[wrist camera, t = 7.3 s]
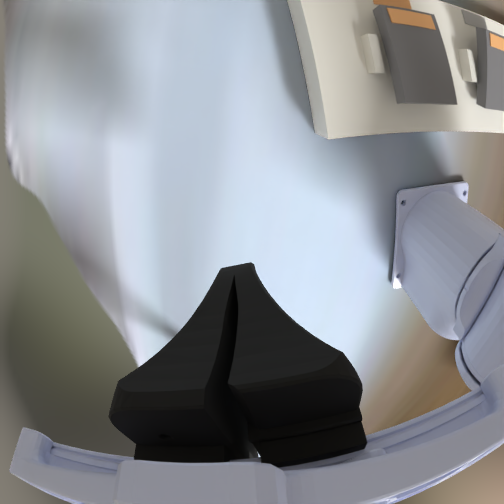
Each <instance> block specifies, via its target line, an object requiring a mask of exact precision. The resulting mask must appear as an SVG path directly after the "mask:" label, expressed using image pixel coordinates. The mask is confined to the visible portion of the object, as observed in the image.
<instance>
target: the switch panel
mask: <svg viewBox="0 0 504 504" xmlns="http://www.w3.org/2000/svg"><path fill="white" fill-rule="evenodd" d="M287 2H288V6H289V9H290V13H291V17H292V21H293V25H294V29H295V33H296V37H297V42H298V46H299V50H300V55H301V60H302V64H303V69H304V74H305V79H306V84H307V89H308V95H309V100H310V106H311V112H312V118H313V124H314V131H315V134H317V135H320V136H322V137H324V138H326V139H336V138H345V137H354V136H364V135H376V134H389V133H405V132H432V131H470V132H495V133H504V111H499V110H493V109H485V108H483V107H481V106H479V105H477V104H476V100H477V76H478V60H477V37H476V27H479V28H484V29H487V30H490V31H492V32H495V33H497V34H499V35H502V36H504V25H502V24H500V23H498V22H496V21H493V20H491V19H489V18H487V17H484V16H482V15H479V14H477V13H474V12H472V11H469V10H467V9H464V8H461V7H458V6H455V5H452V4H449V3H446V2H443V1H439V0H287ZM378 5H387V6H394V7H400V8H406V9H411V10H416V11H421V12H426V13H430V14H434V16H435V18H436V21H437V24H438V27H439V30H440V33H441V36H442V40H443V43H444V46H445V50H446V53H447V57H448V61H449V65H450V69H451V74H452V78H453V83H454V88H455V93H456V99H457V105H437V104H397V102H396V97H395V91H394V87H393V82H392V77H391V73H390V69H389V65H388V61H387V57H386V53H385V49H384V46H383V42H382V39H381V35H380V32H379V29H378V26H377V23H376V20H375V17H374V14H373V11H372V10H373V9H375V8H376V7H377V6H378Z"/></svg>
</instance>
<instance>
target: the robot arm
mask: <svg viewBox="0 0 504 504" xmlns="http://www.w3.org/2000/svg"><path fill="white" fill-rule="evenodd" d="M463 192H464V193H463ZM467 197H468V183H466V182H465V181H461V182H453V183H446V184H438V185H431V186H424V187H417V188H410V189H403V190H400V191H399V192H398V193H397V196H396V232H395V249H394V262H393V272H392V282H391V285H392V287H393V288H395V289H396V288H400V287H403V289H404V290H405V292H406V293H407V294H408V296H409V297H410V299H411V300H412V301H413V303H414V304H415V306H416V307H417V309H418V310H419V312H420V313H421V315H422V316H423V318H424V319H425V321H426V322H427V324H428V325H429V326H430V328H431V329H432V330H433V331H435V332H436V333H437V334H439V335H441V336H442V337H445V338H447V339H451V340H460V341H459V342H458V344H457V347H456V350H455V360H456V364H457V367H458V370H459V372H460V375H461V377H462V379H463V380H464V382H465V383H466V385H467V386H468V387H469V388H470V389H471V390H472V391H471V392H469V393H467V394H466V395H464V396H462V397H460V398H458V399H456V400H454V401H452V402H450V403H448V404H446V405H444V406H442V407H440V408H437V409H435V410H433V411H431V412H429V413H426V414H424V415H422V416H419V417H417V418H414V419H412V420H409V421H407V422H404V423H402V424H399V425H396V426H394V427H391V428H388V429H385V430H382V431H379V432H376V433H373V434H370V435H366V436H365V432H364V429H363V425H362V422H361V421H362V415H361V412H360V408H359V405H360V401H361V396H362V391H363V390H362V383H361V380H360V378H359V376H358V374H357V372H356V371H355V369H354V367H353V366H352V364H351V363H350V361H349V360H348V359H347V357H346V356H345V354H344V353H343V352H341V351H339V350H337V349H335V348H333V347H331V346H330V345H328V344H326V343H324V342H323V341H321V340H320V339H318V338H317V337H315V336H313V335H312V334H311V333H309V332H308V331H307V330H305V329H304V328H303V327H301V326H300V325H299V324H297V323H296V322H295V321H294V320H293V319H292V318H291V317H290V316H289V315H288V314H286V313H285V312H284V311H283V310H282V308H281V307H280V306H279V305H278V304H277V303H276V302H275V300H274V299H273V298H272V297H271V295H270V294H269V293H268V291H267V290H266V288H265V287H264V285H263V284H262V282H261V281H260V279H259V277H258V275H257V273H256V270H255V266H254V264H253V263H251V262H250V263H245V264H240V265H235V266H230V267H225V268H221V269H220V271H219V273H218V275H217V276H216V278H215V280H214V282H213V284H212V286H211V287H210V289H209V291H208V292H207V294H206V296H205V297H204V299H203V301H202V302H201V304H200V305H199V307H198V308H197V310H196V311H195V312H194V314H193V315H192V317H191V318H190V319H189V321H188V322H187V323H186V324H185V326H184V327H183V328H182V329H181V330H180V331H179V332H178V334H177V335H176V336H175V337H174V338H173V339H172V340H171V341H170V342H168V343H167V344H166V345H165V346H164V347H163V348H162V349H161V350H160V351H159V352H158V353H157V354H155V355H154V356H153V357H152V358H151V359H149V360H148V361H147V362H145V363H144V364H143V365H141V366H140V367H139V368H137V369H136V370H134V371H133V372H131V373H130V374H128V375H127V376H125V377H124V378H122V379H120V380H119V381H118V384H117V387H116V390H115V393H114V397H113V400H112V404H111V408H110V412H109V419H110V421H111V422H112V424H113V425H114V426H115V427H116V428H117V429H118V430H119V431H121V432H122V433H123V434H124V435H125V436H127V437H128V438H129V439H131V440H132V441H133V442H134V443H136V449H135V456H134V457H125V456H117V455H110V454H105V453H99V452H94V451H88V450H83V449H79V448H74V447H70V446H66V445H62V444H58V443H55V442H52V441H51V440H50V439H49V438H48V437H47V436H45V435H44V434H42V433H40V432H38V431H35V430H32V429H28V428H25V427H24V428H22V431H21V434H20V437H19V440H18V443H17V446H16V449H15V453H14V456H13V459H12V463H11V467H10V473H12V474H14V475H15V476H17V477H19V478H20V479H22V480H24V481H25V482H27V483H29V484H31V485H33V486H35V487H36V488H38V489H41V490H42V491H44V492H46V493H48V494H50V495H53V496H55V497H57V498H60V499H62V500H65V501H68V502H70V503H73V504H393V503H396V502H398V501H401V500H403V499H406V498H408V497H410V496H413V495H415V494H417V493H419V492H422V491H424V490H426V489H428V488H430V487H432V486H434V485H436V484H438V483H440V482H442V481H444V480H446V479H448V478H449V477H451V476H453V475H455V474H457V473H459V472H460V471H462V470H464V469H465V468H467V467H469V466H470V465H472V464H473V463H475V462H477V461H478V460H480V459H481V458H483V457H484V456H486V455H487V454H489V453H490V452H492V451H493V450H495V449H496V448H497V447H499V446H500V445H502V444H503V443H504V229H503V228H501V227H500V226H499V225H497V224H496V223H495V222H493V221H492V220H490V219H489V218H488V217H486V216H485V215H483V214H482V213H480V212H479V211H477V210H476V209H474V208H473V207H471V206H470V205H468V204H467ZM403 200H404V203H403V204H401V202H402V201H403ZM397 274H398V275H397ZM396 275H397V276H396ZM257 451H258V452H257ZM258 453H259V455H260V456H261V457H259V458H258Z"/></svg>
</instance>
